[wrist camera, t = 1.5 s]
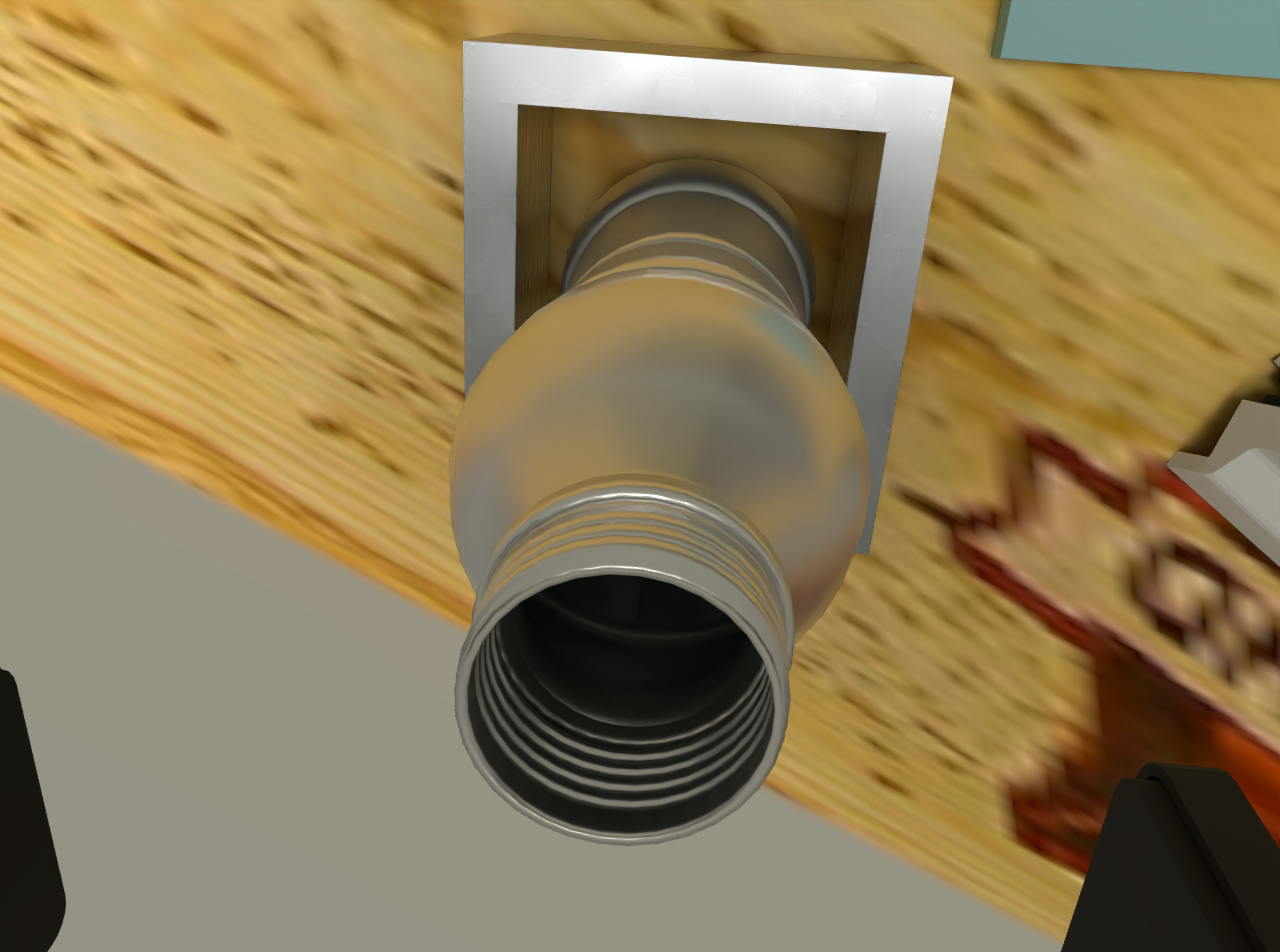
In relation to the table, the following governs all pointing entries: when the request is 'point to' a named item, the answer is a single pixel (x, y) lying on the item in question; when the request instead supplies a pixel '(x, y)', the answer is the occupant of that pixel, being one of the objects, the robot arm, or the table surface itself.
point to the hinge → (1243, 473)
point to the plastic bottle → (653, 512)
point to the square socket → (712, 89)
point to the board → (1145, 34)
